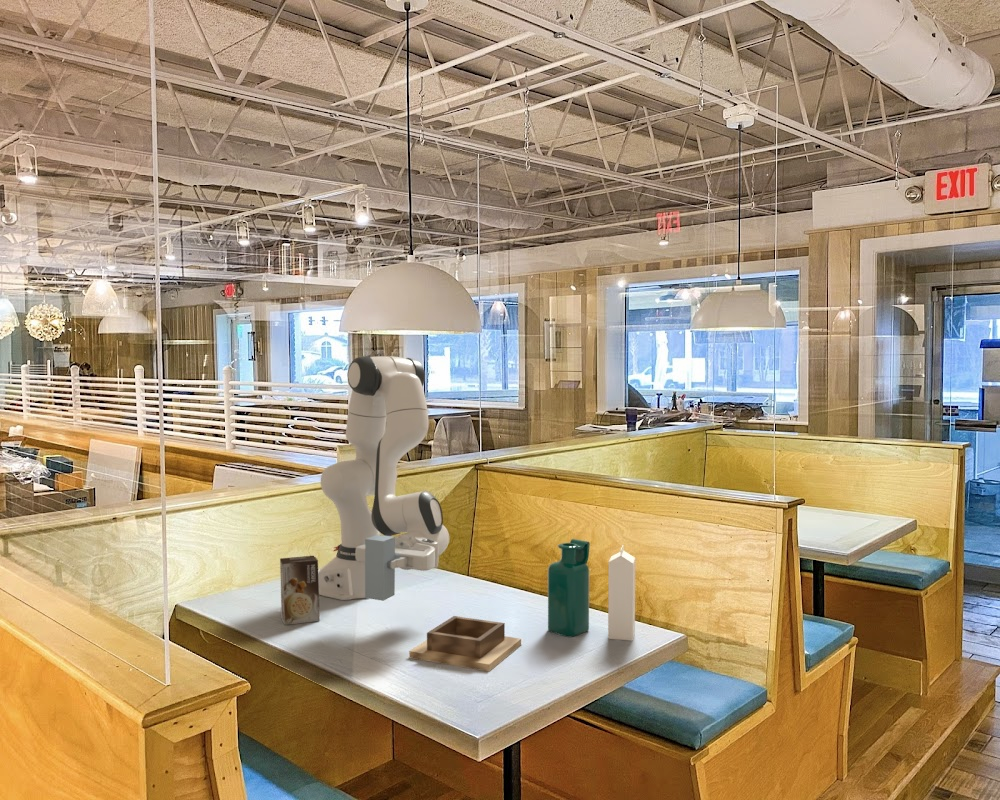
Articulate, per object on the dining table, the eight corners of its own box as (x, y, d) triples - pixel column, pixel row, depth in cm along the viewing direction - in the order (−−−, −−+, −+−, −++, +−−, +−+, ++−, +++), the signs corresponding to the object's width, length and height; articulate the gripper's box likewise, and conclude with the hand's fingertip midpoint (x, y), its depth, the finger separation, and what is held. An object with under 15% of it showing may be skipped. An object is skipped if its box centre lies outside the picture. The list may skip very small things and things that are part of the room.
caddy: (409, 657, 183) (409, 633, 182) (446, 633, 199) (446, 611, 199) (489, 671, 175) (489, 646, 174) (521, 644, 191) (521, 622, 191)
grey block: (365, 597, 189) (365, 538, 188) (376, 592, 193) (377, 534, 193) (383, 600, 187) (383, 541, 186) (394, 595, 191) (394, 536, 191)
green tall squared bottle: (571, 638, 195) (571, 548, 194) (544, 630, 201) (544, 543, 200) (595, 628, 202) (595, 542, 202) (568, 621, 208) (568, 537, 207)
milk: (608, 639, 195) (607, 549, 194) (610, 631, 201) (610, 543, 200) (633, 641, 194) (633, 550, 193) (635, 632, 200) (635, 544, 199)
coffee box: (316, 614, 215) (315, 554, 214) (320, 621, 209) (319, 560, 208) (280, 618, 211) (279, 557, 211) (283, 625, 205) (282, 563, 205)
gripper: (373, 534, 206) (341, 545, 193) (443, 542, 197) (415, 555, 185) (373, 558, 206) (341, 571, 193) (443, 568, 198) (415, 582, 185)
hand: (378, 563), depth 189 cm, fingers closed on grey block, 5 cm apart
